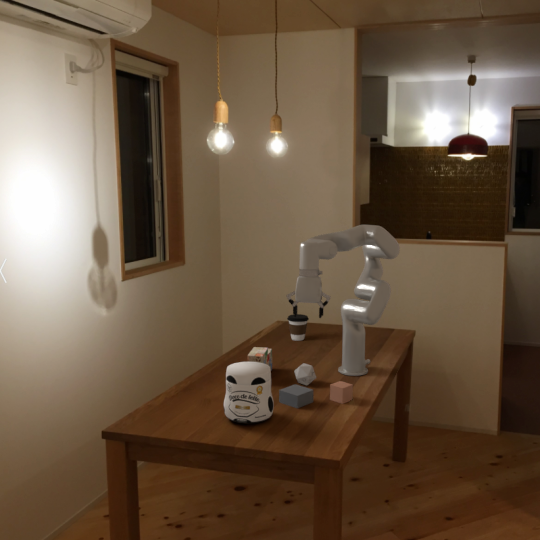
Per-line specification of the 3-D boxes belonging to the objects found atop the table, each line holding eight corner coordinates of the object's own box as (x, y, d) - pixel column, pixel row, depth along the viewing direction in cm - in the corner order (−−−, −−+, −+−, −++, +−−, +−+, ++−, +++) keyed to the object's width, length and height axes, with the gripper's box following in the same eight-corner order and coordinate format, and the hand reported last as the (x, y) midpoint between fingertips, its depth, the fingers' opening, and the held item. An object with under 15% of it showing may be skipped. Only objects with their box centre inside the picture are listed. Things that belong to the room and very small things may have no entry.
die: (295, 388, 251) (310, 371, 248) (286, 373, 257) (300, 356, 254) (309, 391, 256) (323, 375, 253) (300, 376, 262) (314, 360, 259)
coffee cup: (288, 336, 329) (288, 313, 328) (309, 336, 328) (309, 314, 326) (285, 341, 319) (286, 318, 317) (307, 342, 317) (307, 319, 315)
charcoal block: (295, 396, 241) (295, 384, 240) (313, 402, 235) (313, 389, 234) (279, 402, 235) (279, 390, 234) (297, 409, 228) (297, 395, 228)
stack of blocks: (258, 368, 275) (258, 341, 273) (272, 369, 274) (272, 341, 272) (247, 384, 255) (247, 354, 253) (262, 385, 253) (262, 355, 252)
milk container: (233, 431, 208) (233, 378, 205) (216, 413, 224) (216, 364, 221) (281, 423, 215) (282, 372, 212) (262, 406, 231) (262, 358, 228)
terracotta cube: (340, 396, 241) (340, 380, 241) (352, 400, 237) (352, 384, 236) (329, 399, 237) (330, 384, 236) (342, 404, 233) (342, 388, 232)
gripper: (332, 272, 246) (331, 316, 248) (288, 271, 249) (287, 313, 252) (330, 275, 239) (329, 320, 241) (285, 273, 242) (284, 317, 244)
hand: (308, 316), depth 246 cm, fingers open, 9 cm apart
